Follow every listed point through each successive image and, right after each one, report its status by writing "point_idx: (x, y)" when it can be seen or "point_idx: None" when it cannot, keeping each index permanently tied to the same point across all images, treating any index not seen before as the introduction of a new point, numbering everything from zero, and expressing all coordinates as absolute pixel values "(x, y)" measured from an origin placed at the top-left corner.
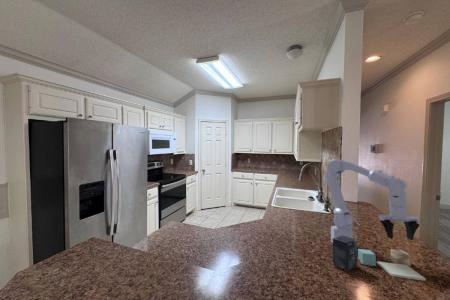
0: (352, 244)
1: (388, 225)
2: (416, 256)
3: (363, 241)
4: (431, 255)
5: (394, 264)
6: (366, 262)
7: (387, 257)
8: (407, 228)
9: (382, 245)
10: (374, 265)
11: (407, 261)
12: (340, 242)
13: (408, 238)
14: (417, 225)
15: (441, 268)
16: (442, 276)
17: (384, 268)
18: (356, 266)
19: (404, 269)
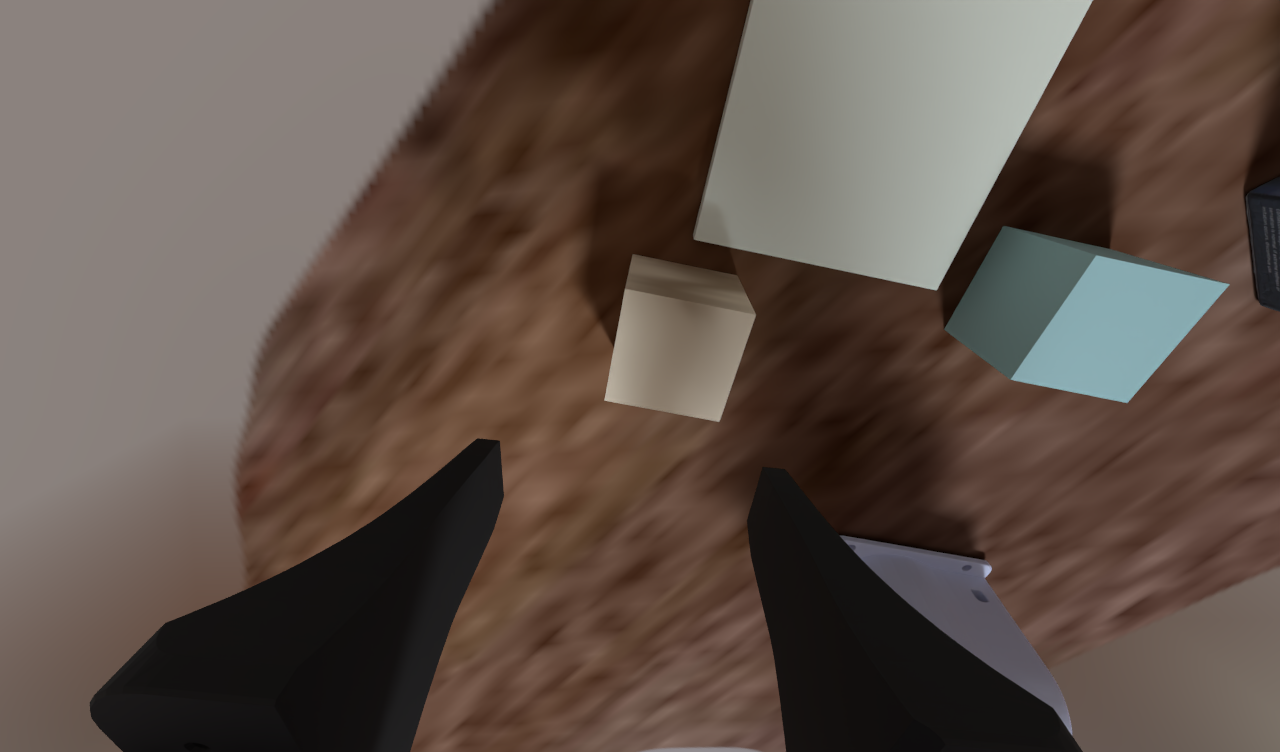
0: None
1: (1000, 674)
2: (420, 441)
3: (649, 637)
4: (282, 465)
5: (813, 237)
6: (1102, 248)
7: None
8: (431, 635)
9: (552, 590)
10: (1018, 229)
11: (656, 270)
12: None
13: (501, 482)
14: (203, 642)
15: (363, 239)
16: (483, 54)
17: (1006, 147)
18: (1273, 180)
19: (816, 124)
